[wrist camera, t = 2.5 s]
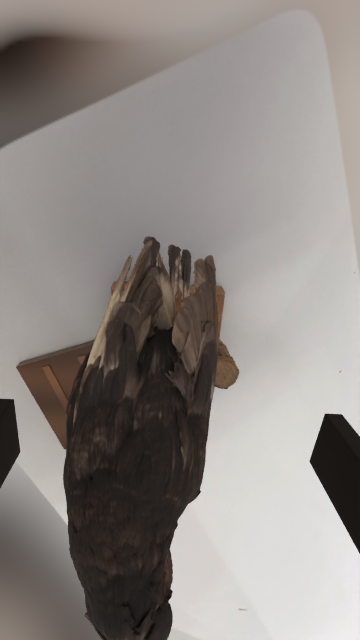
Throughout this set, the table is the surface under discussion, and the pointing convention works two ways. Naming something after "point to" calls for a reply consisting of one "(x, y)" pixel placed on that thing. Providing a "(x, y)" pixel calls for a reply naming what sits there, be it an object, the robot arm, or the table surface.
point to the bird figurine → (142, 437)
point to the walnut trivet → (54, 383)
